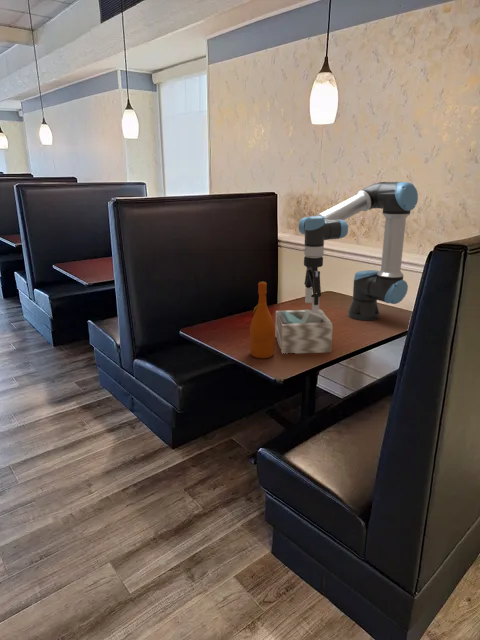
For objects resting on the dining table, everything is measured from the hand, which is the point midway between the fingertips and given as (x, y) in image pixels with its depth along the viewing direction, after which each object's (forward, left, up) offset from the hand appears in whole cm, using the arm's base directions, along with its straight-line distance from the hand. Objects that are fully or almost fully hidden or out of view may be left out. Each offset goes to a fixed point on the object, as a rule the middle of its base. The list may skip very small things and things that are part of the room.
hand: (311, 307), depth 179 cm
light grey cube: (+1, 0, -8) cm, 8 cm away
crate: (+4, 0, -16) cm, 17 cm away
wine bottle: (+22, +10, -16) cm, 29 cm away
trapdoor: (+5, 0, -8) cm, 9 cm away
